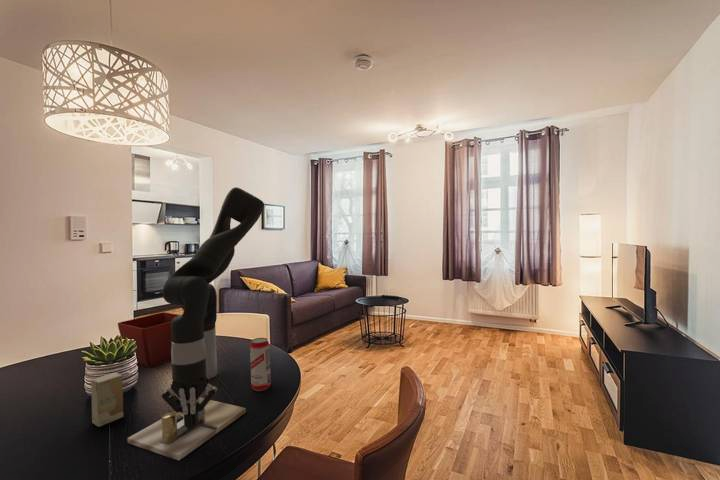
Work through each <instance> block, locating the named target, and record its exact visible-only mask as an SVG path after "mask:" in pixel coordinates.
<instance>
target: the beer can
mask: <svg viewBox="0 0 720 480" xmlns="http://www.w3.org/2000/svg"><path fill="white" fill-rule="evenodd" d="M270 353H271V352H270V343H269V340H268V338H266V337H257V338H254V339H252V340H251V343H250V347H249V356H250V359H249V360H250V384H251V386H250V387H251V388H252V390H253V391H256V392H263V391H266V390H268V389H269V388H270V387H271V384H272V382H271V381H272V380H271V354H270Z"/></svg>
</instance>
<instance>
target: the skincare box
mask: <svg viewBox="0 0 720 480" xmlns="http://www.w3.org/2000/svg"><path fill="white" fill-rule="evenodd" d="M90 380H91V381H90V382H91V421H92V424H93V425H95V426H96V427H99V428H100V427H102V426H104V425H107V424H110V423H112V422H114V421H117V420H119V419H121V418H124V394H123V390H124V389H123V374H120V373H119V372H112V373H109V374H105V375H102V376H99V377H96V378H92V379H90Z"/></svg>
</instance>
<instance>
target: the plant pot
mask: <svg viewBox="0 0 720 480" xmlns="http://www.w3.org/2000/svg"><path fill="white" fill-rule="evenodd" d="M178 315H179V314H177V313H171V312H157V313H154V314H151V315H150V314H148V315H146V316H141V317H138V318H133V319H128V320H123V321H119V322H117V328H118V331H119V335H120V337H121V339H125V338H126V337H127V338H128V339H134V340H135V341H136V345H137V350H136V356H137V361H138V364H137V365H140V366H144V367H146V368H152V367H154V366H155V367H156V366H158V365H160V364H163V363H165V362H168V361H171V347H172V334H171V323H172V320H173V318H175V317H176V316H178Z"/></svg>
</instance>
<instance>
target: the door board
mask: <svg viewBox="0 0 720 480" xmlns="http://www.w3.org/2000/svg"><path fill="white" fill-rule="evenodd" d="M204 399H205V397H200V399H199V404H200V403H202V401H203V400H204ZM204 408H205V420H204V421H203V422H202V423H200V424H198V425H196V426H195V427H194V429H188V430H186V431H185V432H183V433H182V434H180V435H179V436H178V437H177V438H176V439H175V440H173V441H171V442H163V441H162V419H158V420H157V421H155V422H154V423H152V424H150V425H149V426H147V427H145V428H143V429H141V430H139V431H138V432H136V433H134V434H132V435H130V436H129V437H127V438H126V439H127V443H128V444H130V445H131V446H132V445H133V446H135V447H137V448H142V449H144V450H148V451H150V452H153V453H155V454H158V455H162V456H164V457H167V458H170V459H173V460H177V461H178V462H179V461H181V460H182V459H184V457H186V456H188V455H189V454H190V453H191V452H193V451H194V450H196V449H197V448H198V447H200V446H201V445H203V444H204V443H205V442H207V441H208V440H210V439H211V438H213V437H214V436H215V435H216V434H218V433H220V432H221V431H222V430H224V429H225V428H226V427H228V426H229V425H230V424H232V423H233V422H235V421H236V420H237V419H239V418H240V417H241V416H244V415H245V414H246V413H247V408H246V407H242V406H240V405H234V404H230V403H225V402H220V401H217V400H214V399H213V400H212V399H210V401H209V402H208V403H207V405H206V406H205V407H204ZM174 412H175V411H174ZM175 413H176V412H175ZM176 415H177V423H178V422H180V421H181V420H183V419H184V414H183V413H181V412H179V413H176Z"/></svg>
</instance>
